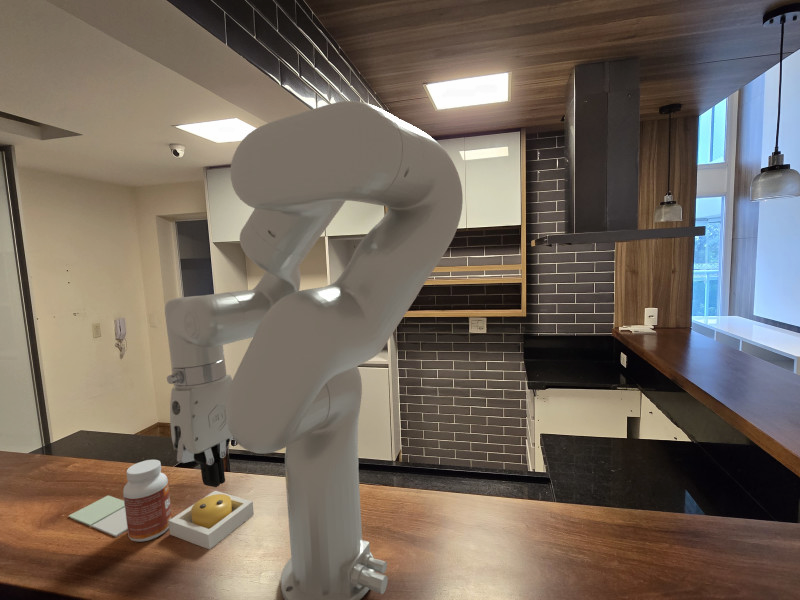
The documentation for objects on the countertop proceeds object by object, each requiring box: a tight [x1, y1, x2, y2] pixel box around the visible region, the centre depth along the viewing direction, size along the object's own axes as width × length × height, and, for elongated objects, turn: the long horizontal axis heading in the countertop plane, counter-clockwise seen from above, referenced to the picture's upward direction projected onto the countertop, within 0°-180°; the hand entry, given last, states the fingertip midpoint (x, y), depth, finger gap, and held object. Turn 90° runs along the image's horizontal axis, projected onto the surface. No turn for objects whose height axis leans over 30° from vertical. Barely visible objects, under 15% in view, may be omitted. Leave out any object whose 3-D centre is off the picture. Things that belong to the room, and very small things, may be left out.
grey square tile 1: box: [91, 507, 128, 538], centre depth 70 cm, size 6×6×1 cm
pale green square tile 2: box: [68, 495, 125, 527], centre depth 72 cm, size 6×6×1 cm
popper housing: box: [168, 490, 255, 550], centre depth 67 cm, size 9×9×2 cm
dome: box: [191, 494, 232, 529], centre depth 67 cm, size 6×6×3 cm
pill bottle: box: [122, 459, 173, 543], centre depth 66 cm, size 6×6×11 cm
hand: (214, 483), depth 66 cm, fingers closed
